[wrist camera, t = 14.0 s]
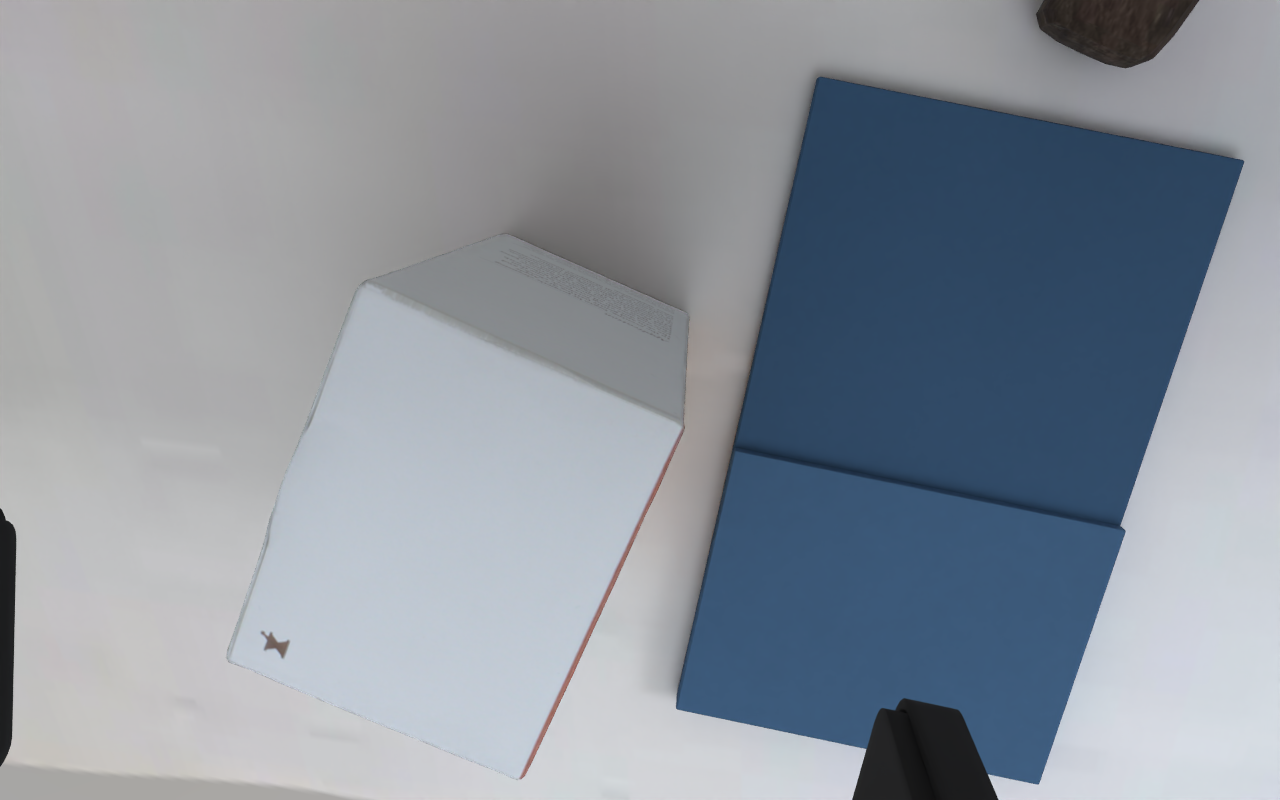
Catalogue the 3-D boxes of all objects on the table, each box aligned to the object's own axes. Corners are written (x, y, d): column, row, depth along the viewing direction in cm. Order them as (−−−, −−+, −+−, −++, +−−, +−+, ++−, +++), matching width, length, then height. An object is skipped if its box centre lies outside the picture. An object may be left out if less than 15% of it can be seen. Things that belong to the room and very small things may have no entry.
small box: (595, 538, 31) (519, 795, 18) (412, 460, 31) (210, 666, 18) (697, 310, 29) (692, 423, 16) (504, 225, 29) (348, 273, 16)
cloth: (1235, 160, 27) (1253, 160, 26) (1030, 768, 32) (1039, 785, 31) (816, 77, 27) (820, 74, 26) (676, 694, 32) (675, 709, 31)
